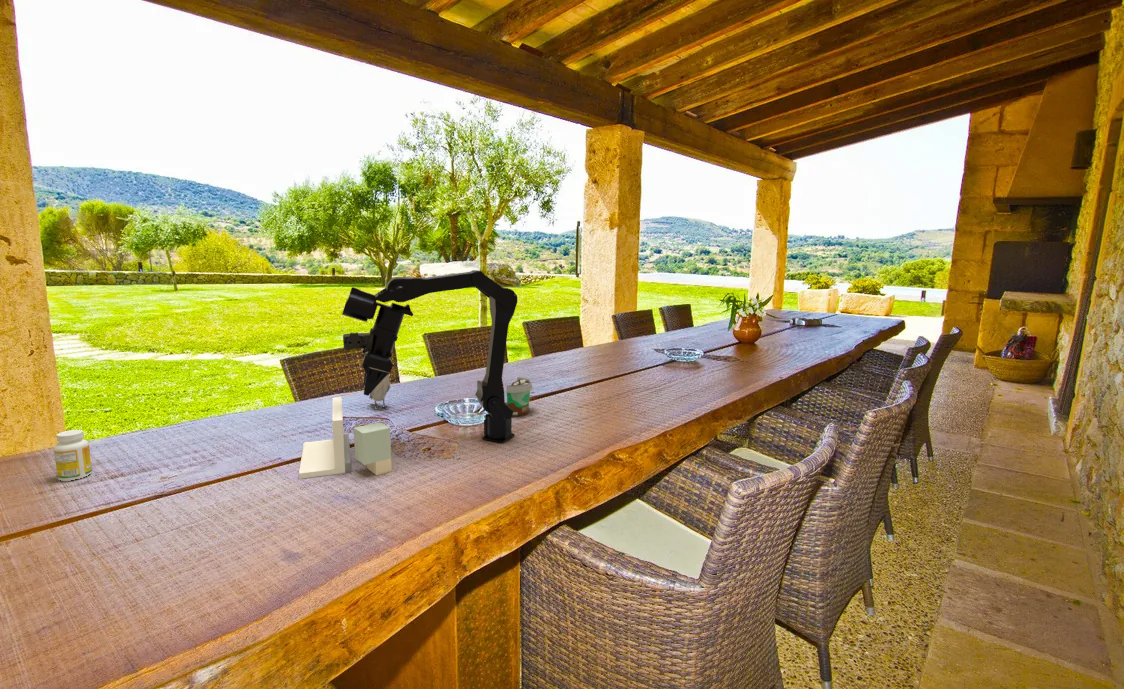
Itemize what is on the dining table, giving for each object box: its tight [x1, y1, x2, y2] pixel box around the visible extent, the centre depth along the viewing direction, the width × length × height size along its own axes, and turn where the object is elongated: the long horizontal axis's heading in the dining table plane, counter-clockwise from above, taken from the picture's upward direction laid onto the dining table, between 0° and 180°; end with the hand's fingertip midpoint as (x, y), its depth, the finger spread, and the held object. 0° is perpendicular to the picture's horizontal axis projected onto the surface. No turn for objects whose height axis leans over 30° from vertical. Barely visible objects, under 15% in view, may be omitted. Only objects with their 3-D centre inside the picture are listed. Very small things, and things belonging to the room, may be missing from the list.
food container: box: [505, 376, 533, 418], centre depth 158 cm, size 12×6×10 cm, turn 168°
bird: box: [369, 374, 391, 408], centre depth 160 cm, size 5×14×15 cm, turn 41°
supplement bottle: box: [53, 429, 93, 482], centre depth 108 cm, size 5×5×10 cm
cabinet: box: [353, 421, 393, 476], centre depth 114 cm, size 6×5×10 cm
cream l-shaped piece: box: [298, 396, 352, 480], centre depth 120 cm, size 10×20×12 cm, turn 23°
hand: (365, 390), depth 123 cm, fingers open, 9 cm apart
